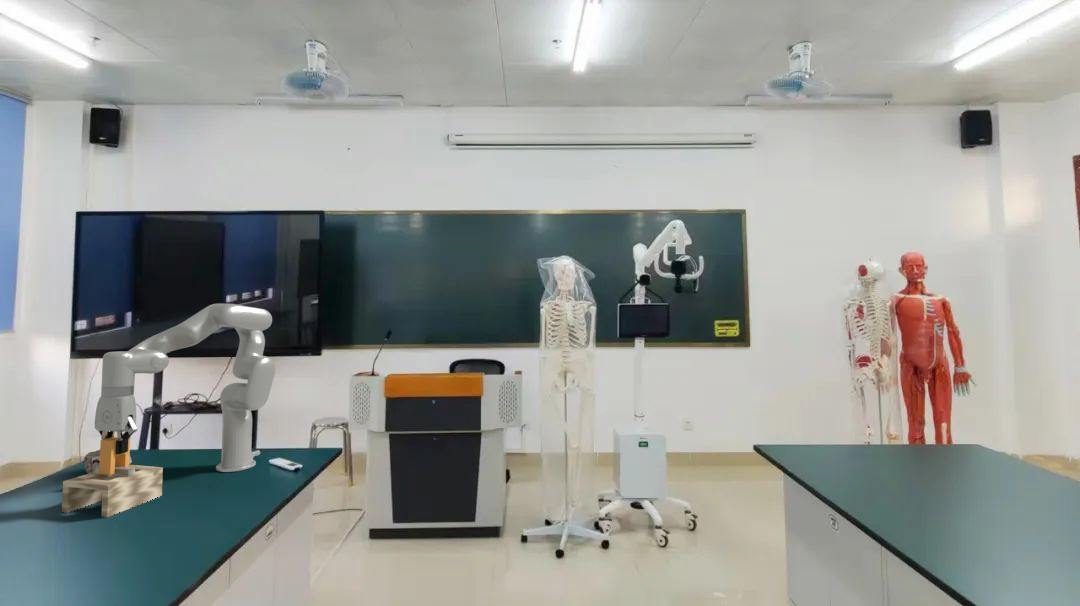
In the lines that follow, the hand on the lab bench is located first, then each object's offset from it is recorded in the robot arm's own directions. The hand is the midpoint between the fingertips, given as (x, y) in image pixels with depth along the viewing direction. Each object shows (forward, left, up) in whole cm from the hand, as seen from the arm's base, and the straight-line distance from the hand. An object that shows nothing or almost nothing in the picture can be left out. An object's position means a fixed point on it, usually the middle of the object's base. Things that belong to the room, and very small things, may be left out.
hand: (115, 452), depth 142 cm
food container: (-12, -15, -16) cm, 25 cm away
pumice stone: (-22, -33, -16) cm, 43 cm away
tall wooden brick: (0, 0, -6) cm, 6 cm away
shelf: (0, 0, -16) cm, 16 cm away
